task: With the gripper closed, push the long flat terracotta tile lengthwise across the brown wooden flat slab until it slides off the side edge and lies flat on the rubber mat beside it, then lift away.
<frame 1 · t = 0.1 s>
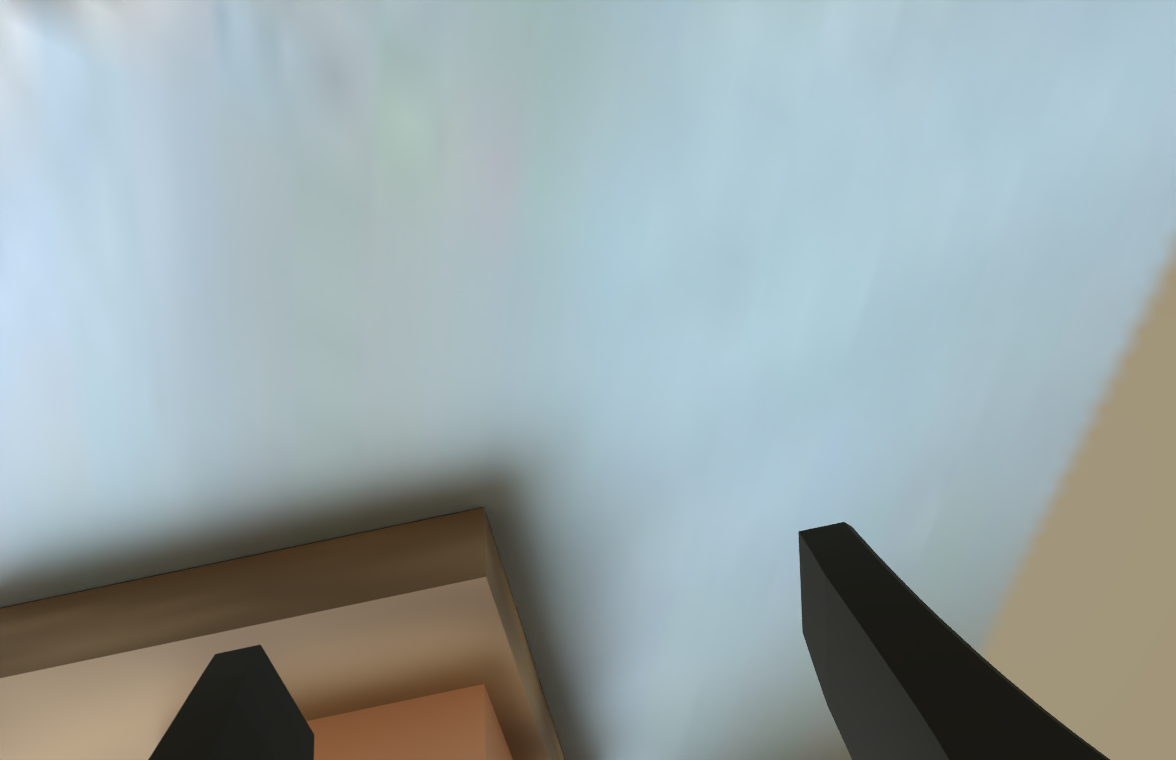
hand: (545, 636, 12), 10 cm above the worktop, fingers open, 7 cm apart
brown wooden flat slab: (316, 714, 28), on the worktop
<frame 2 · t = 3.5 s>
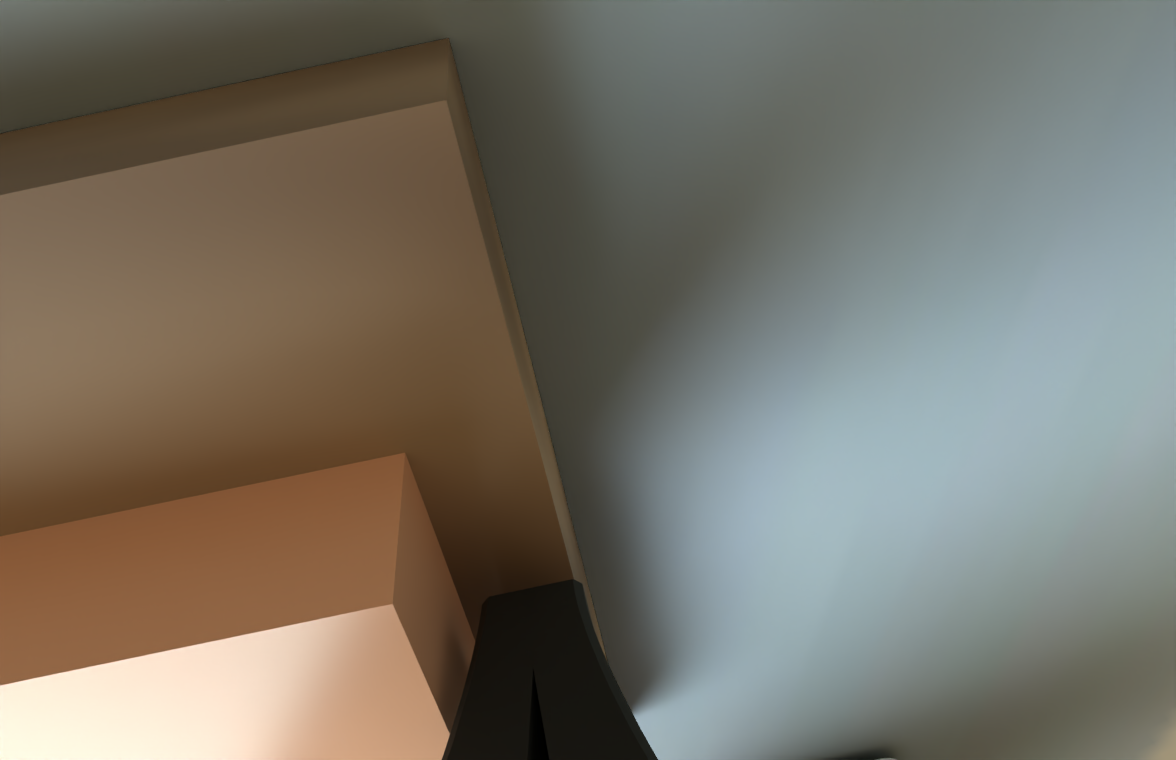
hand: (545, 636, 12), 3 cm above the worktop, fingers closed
brown wooden flat slab: (142, 564, 14), on the worktop
tile: (124, 757, 11), point 4 cm above the worktop, touching brown wooden flat slab, gripper
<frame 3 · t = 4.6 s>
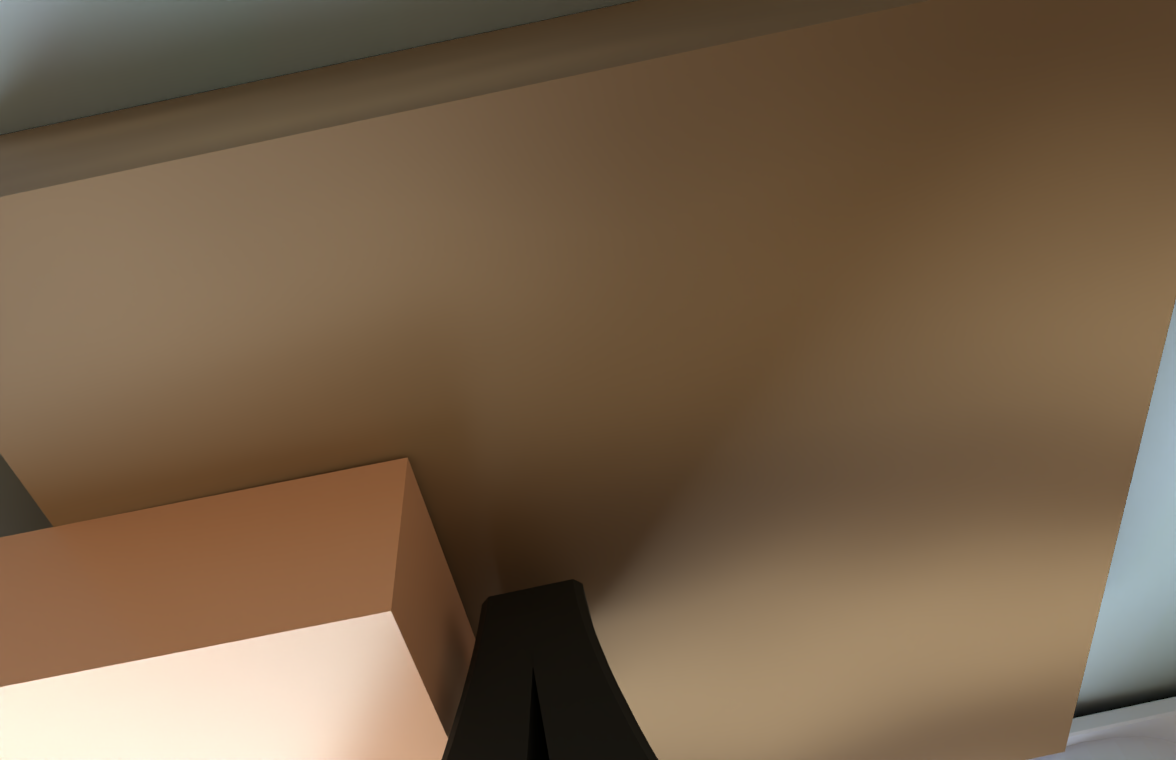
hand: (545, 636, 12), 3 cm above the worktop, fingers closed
brown wooden flat slab: (622, 462, 14), on the worktop
tile: (127, 756, 11), point 4 cm above the worktop, touching brown wooden flat slab, gripper
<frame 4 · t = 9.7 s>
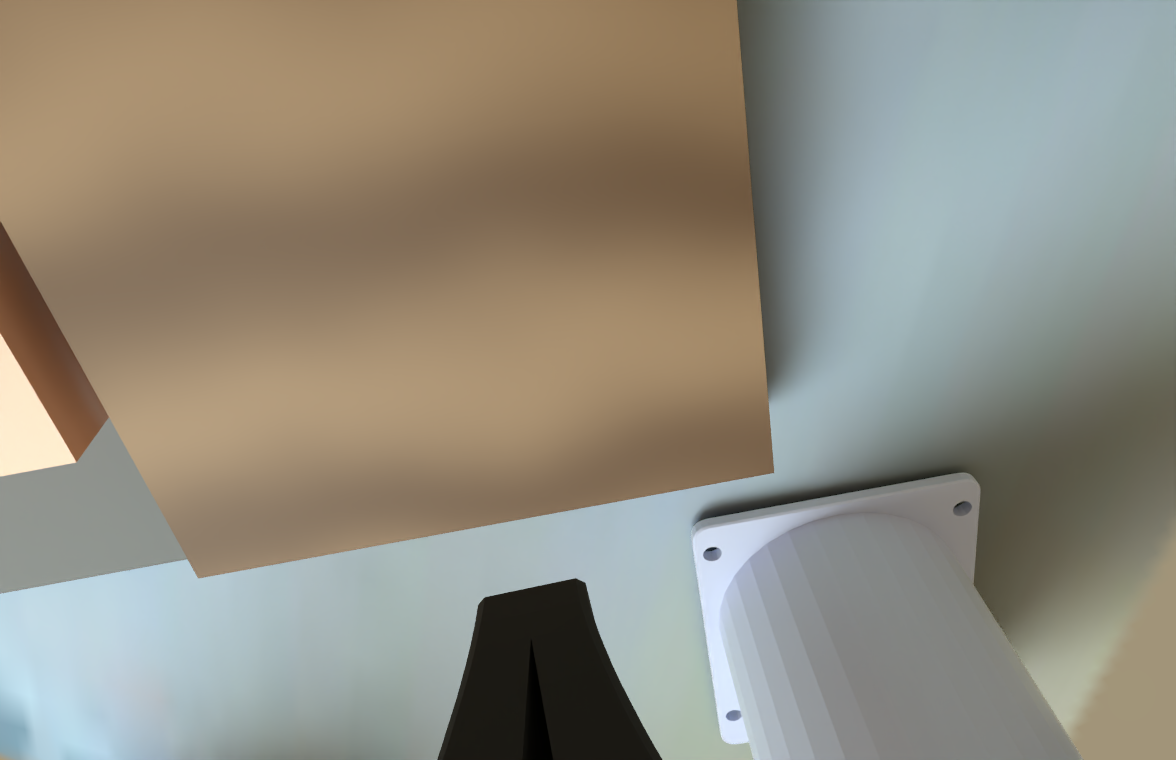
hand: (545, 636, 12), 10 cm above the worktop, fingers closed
brown wooden flat slab: (413, 213, 19), on the worktop
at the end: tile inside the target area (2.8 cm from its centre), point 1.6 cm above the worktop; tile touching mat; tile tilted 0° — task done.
